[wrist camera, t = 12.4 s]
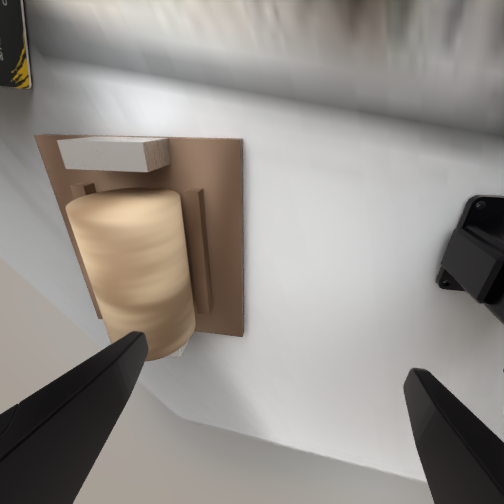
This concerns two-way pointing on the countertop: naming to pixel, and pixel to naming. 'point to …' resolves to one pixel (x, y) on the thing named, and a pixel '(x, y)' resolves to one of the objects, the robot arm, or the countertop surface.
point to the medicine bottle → (13, 46)
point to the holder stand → (192, 204)
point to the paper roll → (137, 264)
